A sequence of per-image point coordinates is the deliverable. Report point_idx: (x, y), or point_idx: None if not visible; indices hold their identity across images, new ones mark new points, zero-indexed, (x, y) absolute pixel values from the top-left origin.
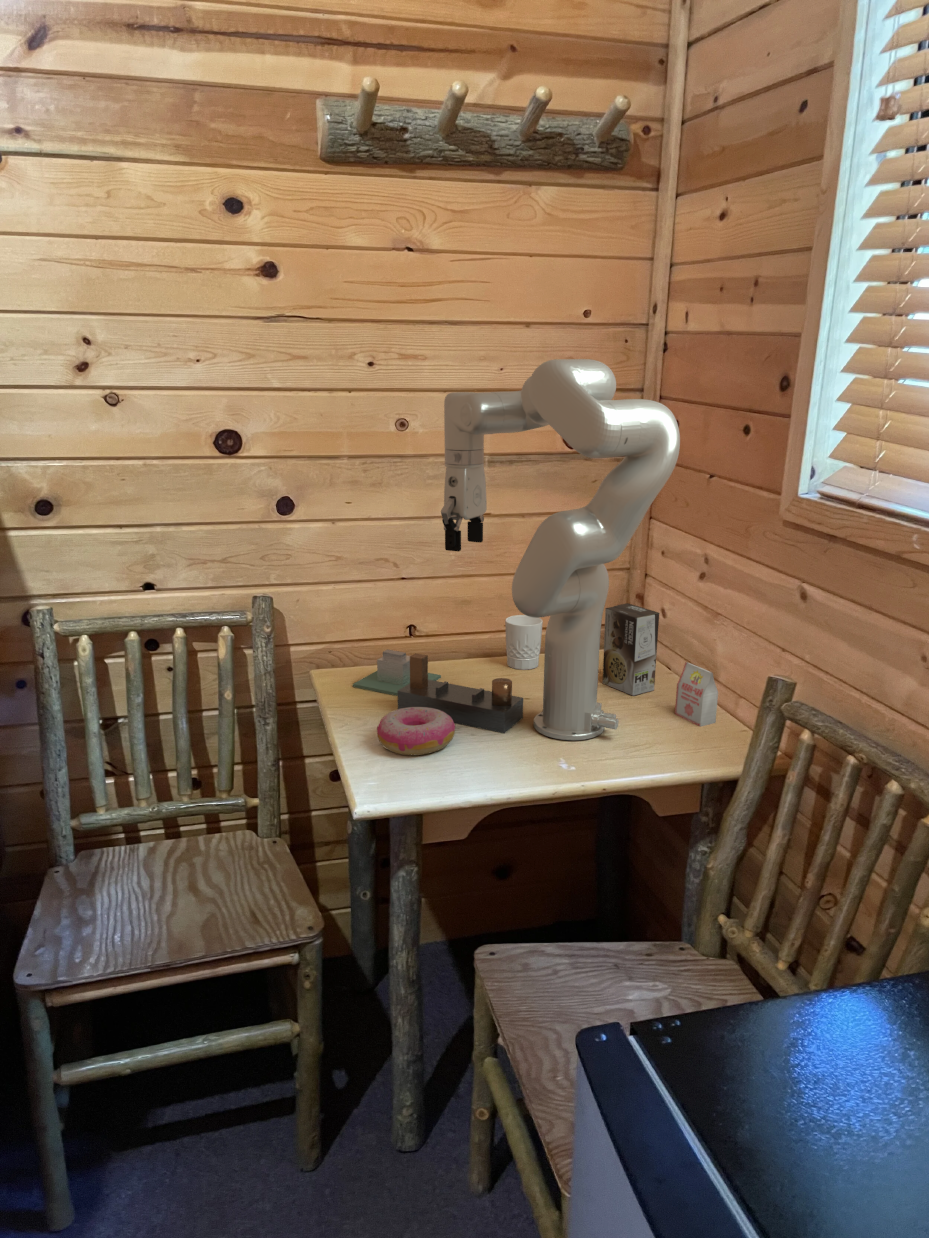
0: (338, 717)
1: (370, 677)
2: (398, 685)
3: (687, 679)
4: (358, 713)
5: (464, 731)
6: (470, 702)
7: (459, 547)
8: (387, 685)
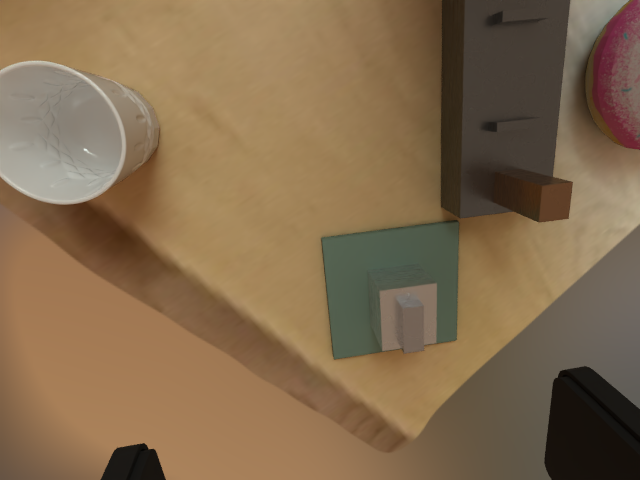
0: (587, 262)
1: None
2: None
3: None
4: (559, 247)
5: None
6: (552, 17)
7: (609, 385)
8: None
